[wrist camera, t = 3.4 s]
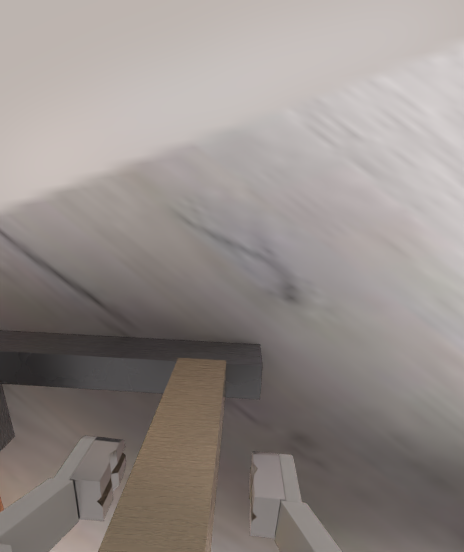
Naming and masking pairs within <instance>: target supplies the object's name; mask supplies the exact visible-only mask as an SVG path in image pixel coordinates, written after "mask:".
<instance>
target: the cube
mask: <svg viewBox="0 0 464 552" xmlns="http://www.w3.org/2000/svg"><path fill="white" fill-rule="evenodd" d="M3 510H4V509H3V505H2V501H1V497H0V512H1V511H3Z"/></svg>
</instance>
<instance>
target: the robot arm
mask: <svg viewBox="0 0 464 552" xmlns="http://www.w3.org/2000/svg"><path fill="white" fill-rule="evenodd" d="M124 448H125V440H120V439H112V438H104V437H95V436H84V437H82V438H81V439H80V440H79V442H78V443H77V445H76V446H75V448H74V449H73V451H72V452H71V454H70V455H69V456H68V458H67V459H66V461H65V462H64V464H63V465H62V467H61V468H60V470H59V471H58V472H57V474H56V475H55V477H54V478H49V479H47V480H46V481H44V482H43V483H42V484H40V485H39V486H37V487H36V488H34V489H33V490H32V491H30V492H29V493H27V494H26V495H24V496H23V497H22V498H20V499H19V500H17V501H16V502H14V503H13V504H12V505H10V506H9V507H7V508H6V509H4V510H3V511H1V512H0V552H49V551H50V550H51V549H52V548H53V547H54V546H55V545H56V544H57V543H58V542H59V541H60V540H61V539H62V538H63V537H64V536H65V535H66V534H67V533H68V532H69V531H70V530H71V529H72V527H73V526H74V525H75V524H76V523H77V522H78V521H79V519H84V520H99V521H104V519H105V517H106V515H107V512H108V510H109V508H110V506H111V503H112V501H113V491H114V490H115V489H116V488H117V487H118V486H119V485H120V483H121V480H122V478H123V474H124V471H125V466H126V456H125V454H124V453H123V451H124ZM249 499H250V510H249V522H250V535H251V536H258V537H266V538H273V539H275V542H276V544H277V546H278V548H279V550H280V552H342V550H341V549H340V548H339V546H338V545H337V544H336V542H335V541H334V540H333V538H332V537H331V536H330V534H329V533H328V532H327V530H326V529H325V527H324V526H323V525H322V523H321V522H320V521H319V519H318V518H317V517H316V515H315V514H314V513H313V511H312V510H311V509H310V507H309V506H308V504H307V503H304V502H302V499H301V494H300V489H299V484H298V479H297V474H296V468H295V463H294V458H293V456H292V455H289V454H278V453H270V452H257V451H252V456H251V467H250V475H249Z"/></svg>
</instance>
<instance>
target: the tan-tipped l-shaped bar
mask: <svg viewBox="0 0 464 552" xmlns="http://www.w3.org/2000/svg"><path fill="white" fill-rule="evenodd" d="M261 378H262V358H261V348H260V345H259V344H240V343H222V342H204V341H185V340H167V339H149V338H130V337H112V336H94V335H75V334H57V333H38V332H20V331H2V330H0V451H1V450H2V449H3V448H4V447H5V446H6V445H7V444H8V443H9V442H10V441H11V440H12V439H13V438H14V437H15V435H14V431H13V427H12V424H11V420H10V416H9V412H8V408H7V404H6V400H5V396H4V392H3V388H2V384H17V385H33V386H50V387H66V388H82V389H99V390H115V391H131V392H147V393H163V396H162V398H161V401H160V403H159V406H158V408H157V410H156V413H155V415H154V418H153V420H152V422H151V425H150V427H149V430H148V432H147V435H146V437H145V439H144V442H143V444H142V447H141V449H140V451H139V454H138V456H137V459H136V461H135V464H134V466H133V468H132V471H131V473H130V476H129V478H128V480H127V483H126V485H125V488H124V490H123V493H122V495H121V497H120V500H119V502H118V505H117V507H116V509H115V512H114V514H113V517H112V519H111V522H110V524H109V526H108V529H107V531H106V534H105V536H104V539H103V541H102V543H101V546H100V548H99V551H98V552H211V542H212V531H213V521H214V510H215V500H216V489H217V479H218V468H219V458H220V447H221V437H222V426H223V416H224V405H225V397H229V398H245V399H260V391H261Z"/></svg>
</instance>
